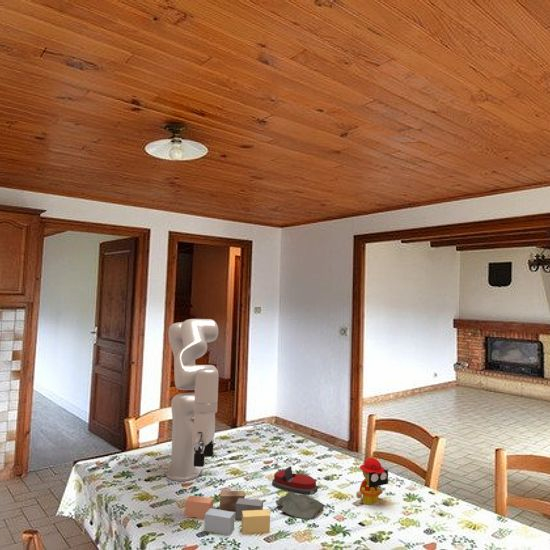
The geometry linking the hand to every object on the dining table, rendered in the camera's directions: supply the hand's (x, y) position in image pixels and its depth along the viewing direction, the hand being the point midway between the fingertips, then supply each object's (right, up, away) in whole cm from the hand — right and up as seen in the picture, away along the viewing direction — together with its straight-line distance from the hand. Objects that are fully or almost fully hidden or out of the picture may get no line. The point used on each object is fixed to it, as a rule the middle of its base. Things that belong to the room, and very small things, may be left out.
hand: (203, 461), depth 144 cm
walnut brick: (+9, -18, +4) cm, 20 cm away
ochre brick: (+17, -17, -10) cm, 26 cm away
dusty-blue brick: (+6, -16, -10) cm, 20 cm away
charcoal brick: (+15, -17, -2) cm, 23 cm away
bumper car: (+29, -20, +24) cm, 42 cm away
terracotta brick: (-1, -17, -1) cm, 17 cm away
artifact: (+31, -19, +5) cm, 37 cm away
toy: (+57, -20, +12) cm, 61 cm away
